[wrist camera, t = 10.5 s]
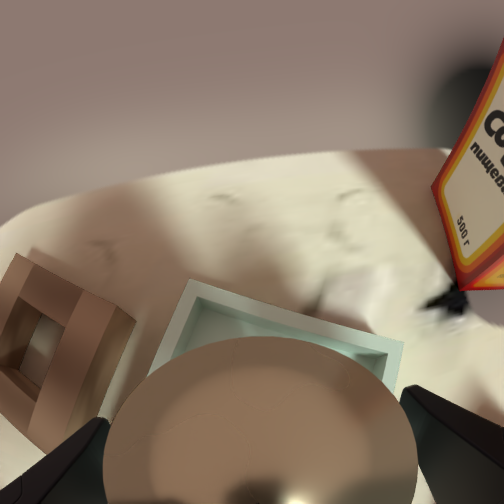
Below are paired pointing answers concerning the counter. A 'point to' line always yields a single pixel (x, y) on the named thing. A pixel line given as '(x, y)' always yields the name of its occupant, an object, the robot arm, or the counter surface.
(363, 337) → the tray
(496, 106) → the baking soda box
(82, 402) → the block
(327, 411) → the pin
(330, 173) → the counter surface
